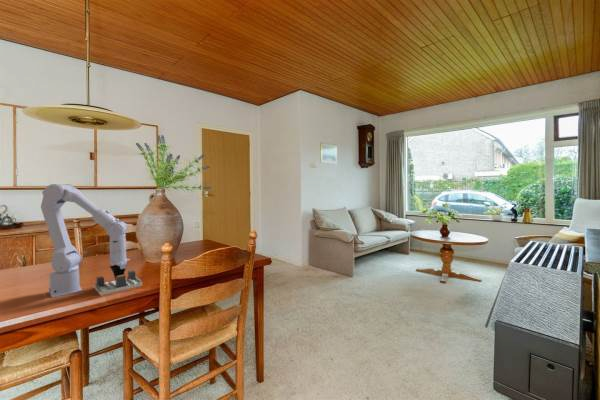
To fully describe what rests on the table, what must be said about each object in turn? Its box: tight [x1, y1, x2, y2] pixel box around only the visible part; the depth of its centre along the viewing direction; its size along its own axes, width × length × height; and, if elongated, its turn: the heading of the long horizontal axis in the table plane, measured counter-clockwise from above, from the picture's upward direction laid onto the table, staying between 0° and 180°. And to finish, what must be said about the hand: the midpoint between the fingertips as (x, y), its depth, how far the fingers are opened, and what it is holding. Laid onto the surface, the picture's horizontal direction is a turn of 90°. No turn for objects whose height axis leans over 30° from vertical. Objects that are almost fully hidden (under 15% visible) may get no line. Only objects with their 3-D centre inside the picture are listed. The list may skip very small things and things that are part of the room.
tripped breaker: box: [114, 274, 127, 287], centre depth 116 cm, size 3×3×4 cm
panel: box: [93, 269, 143, 297], centre depth 118 cm, size 15×12×5 cm
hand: (119, 281), depth 118 cm, fingers closed
